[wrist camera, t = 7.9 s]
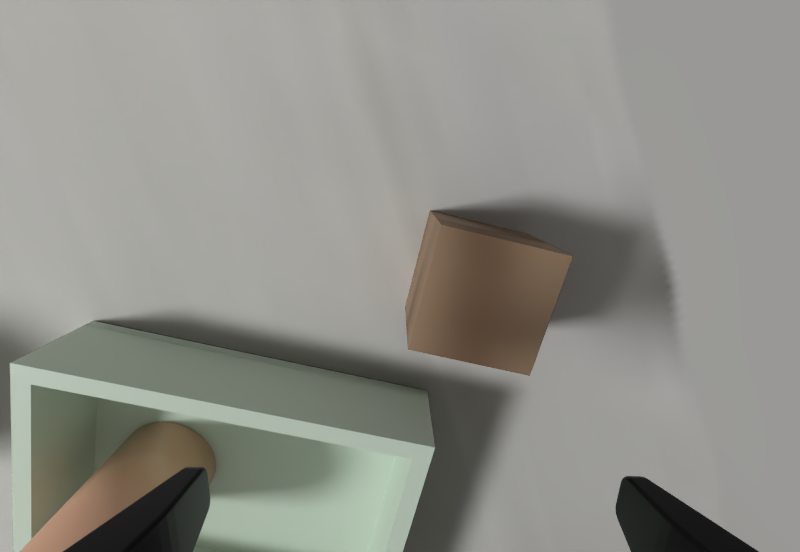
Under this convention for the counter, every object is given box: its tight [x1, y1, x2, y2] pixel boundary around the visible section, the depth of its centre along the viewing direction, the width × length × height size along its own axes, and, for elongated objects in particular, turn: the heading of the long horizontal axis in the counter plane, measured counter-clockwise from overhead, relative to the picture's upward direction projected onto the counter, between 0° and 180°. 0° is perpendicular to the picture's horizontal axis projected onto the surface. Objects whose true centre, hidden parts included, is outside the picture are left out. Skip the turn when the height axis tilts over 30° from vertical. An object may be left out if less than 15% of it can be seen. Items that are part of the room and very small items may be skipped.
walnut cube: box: [405, 211, 573, 376], centre depth 17 cm, size 5×5×5 cm
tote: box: [10, 321, 435, 552], centre depth 20 cm, size 18×14×4 cm
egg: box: [20, 422, 216, 552], centre depth 18 cm, size 5×5×7 cm
